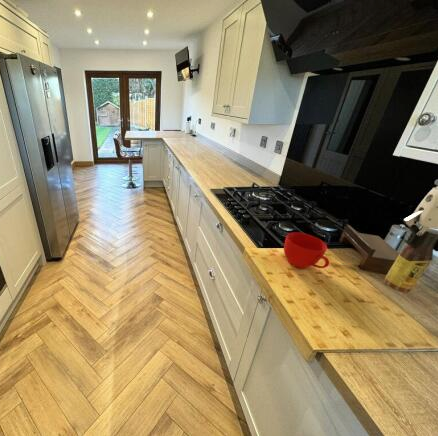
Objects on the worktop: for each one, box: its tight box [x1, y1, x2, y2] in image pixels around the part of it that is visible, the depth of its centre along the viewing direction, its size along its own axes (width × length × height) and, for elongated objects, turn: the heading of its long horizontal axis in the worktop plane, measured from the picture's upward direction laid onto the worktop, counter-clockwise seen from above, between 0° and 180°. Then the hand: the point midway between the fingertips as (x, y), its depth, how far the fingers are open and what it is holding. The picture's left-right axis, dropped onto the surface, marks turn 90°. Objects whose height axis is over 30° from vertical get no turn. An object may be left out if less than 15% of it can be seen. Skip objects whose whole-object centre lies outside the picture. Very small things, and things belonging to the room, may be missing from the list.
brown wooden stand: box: [338, 224, 401, 276], centre depth 94 cm, size 13×20×10 cm, turn 164°
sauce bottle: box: [383, 228, 438, 293], centre depth 69 cm, size 6×6×20 cm
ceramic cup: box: [283, 232, 330, 269], centre depth 87 cm, size 13×17×10 cm
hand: (422, 246), depth 67 cm, fingers closed on sauce bottle, 4 cm apart
